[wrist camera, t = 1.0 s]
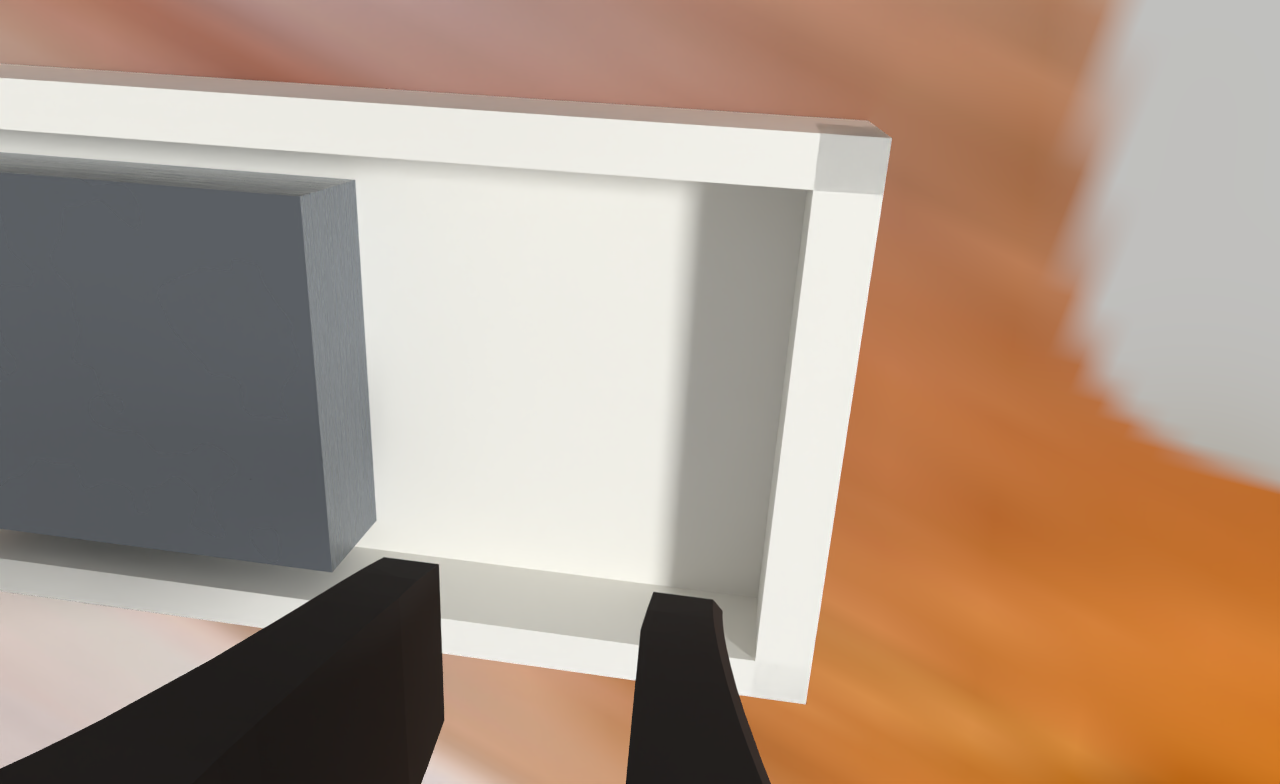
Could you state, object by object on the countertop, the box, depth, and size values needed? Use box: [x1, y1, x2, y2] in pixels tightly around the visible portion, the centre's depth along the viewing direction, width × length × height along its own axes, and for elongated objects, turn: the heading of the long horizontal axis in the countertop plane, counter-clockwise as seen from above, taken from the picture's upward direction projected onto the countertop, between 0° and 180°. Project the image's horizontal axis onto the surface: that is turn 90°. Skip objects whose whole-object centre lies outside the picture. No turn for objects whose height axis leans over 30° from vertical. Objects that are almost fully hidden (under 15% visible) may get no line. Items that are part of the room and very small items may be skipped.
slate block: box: [0, 152, 377, 572], centre depth 17 cm, size 7×8×2 cm
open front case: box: [0, 64, 892, 704], centre depth 17 cm, size 10×17×4 cm, turn 87°
